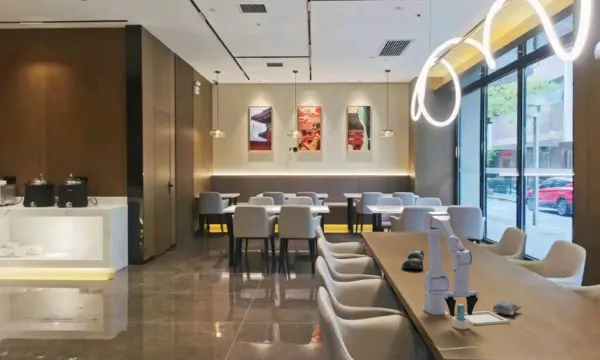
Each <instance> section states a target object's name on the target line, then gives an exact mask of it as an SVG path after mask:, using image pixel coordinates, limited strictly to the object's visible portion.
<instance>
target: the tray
mask: <svg viewBox="0 0 600 360" xmlns="http://www.w3.org/2000/svg"><path fill="white" fill-rule="evenodd" d="M454 316H455V317H457V312H455V315H454ZM465 318H468V319H469V325H470V324H471V325H472V326H484V325H485V326H487V325H497V324H498V325H499V324H501V325H502V324H506V325H510V320H509V319H507V318H505V317H503V316H500V315H498V314H496V313H495V312H491V310H482V311H481V310H480V311H473V312H472V315H469V314H467V311H466V312H465Z"/></svg>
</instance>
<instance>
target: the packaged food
mask: <svg viewBox="0 0 600 360" xmlns="http://www.w3.org/2000/svg"><path fill="white" fill-rule="evenodd" d="M492 308H493V309H492V310H493V313H495V314H496V313H497V314H500V315H503V316H513V315H514V314H515V313H516V312H518V311H519V310H521V309H522V306H521V305H518V304H516V303H514V302H512V301H505V300H503V301H500V302H499V303H496V304H495V305H494V306H493V307H492Z"/></svg>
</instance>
